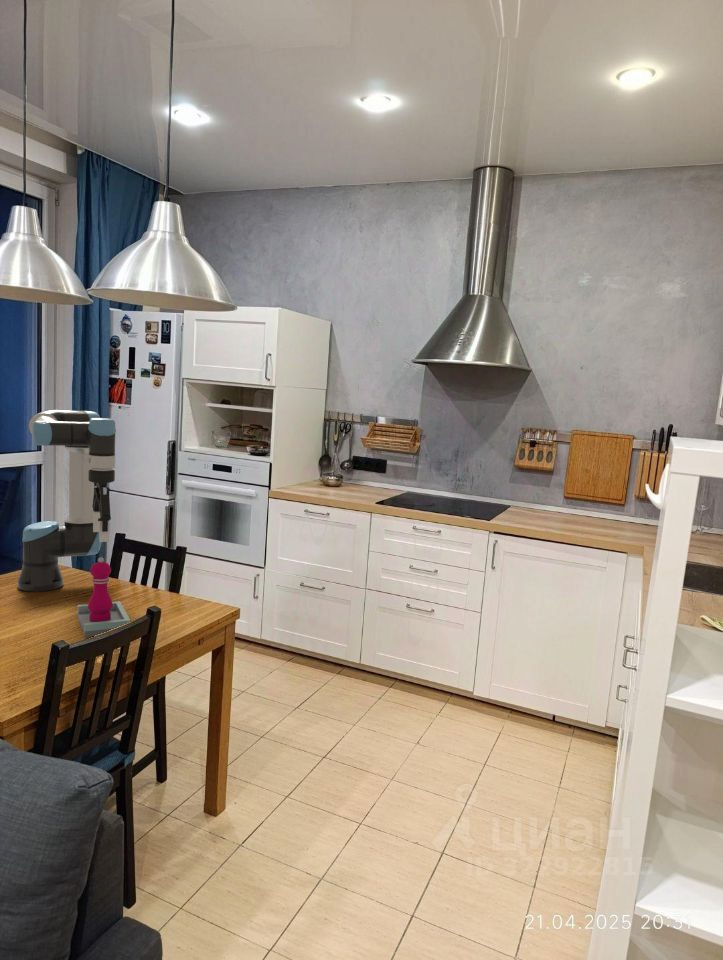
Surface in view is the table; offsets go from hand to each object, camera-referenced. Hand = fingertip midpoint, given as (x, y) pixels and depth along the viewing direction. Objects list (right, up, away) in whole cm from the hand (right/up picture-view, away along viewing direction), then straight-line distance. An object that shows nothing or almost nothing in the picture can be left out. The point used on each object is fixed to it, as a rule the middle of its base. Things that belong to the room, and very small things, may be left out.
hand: (100, 536), depth 205 cm
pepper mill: (-2, -27, +4) cm, 27 cm away
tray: (-1, -28, +4) cm, 29 cm away
